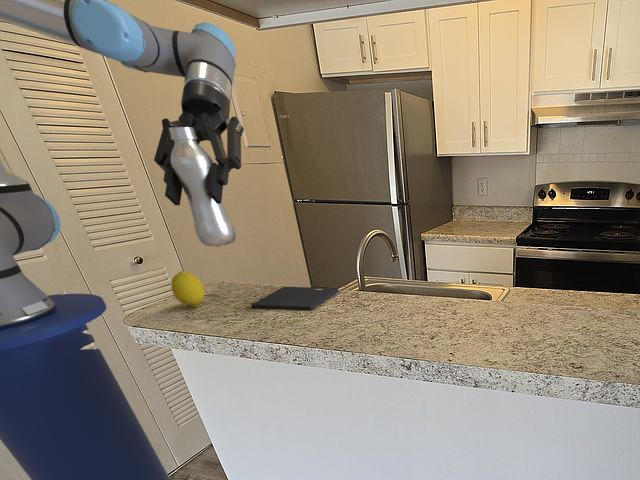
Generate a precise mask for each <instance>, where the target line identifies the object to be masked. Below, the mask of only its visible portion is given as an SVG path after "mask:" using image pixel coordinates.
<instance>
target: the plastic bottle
mask: <svg viewBox="0 0 640 480" xmlns="http://www.w3.org/2000/svg"><path fill="white" fill-rule="evenodd" d="M169 131H170V134H171V139H172V140H174V142H175V145H174V148H173V150H172V153H171V157H170V159H171V165H172V167H173V168H174V171H175V173H176V175H177V177H178V179H179V181H180V183H181V185H182V190H183V192H184V194H185V195H186V199H187V201H188V204H189V207H190V212H191V215H192V219H193V221H194V222H193V226H194V227H193V228H194V231H195V235H196V237H197V239H198V240H199V242H200V243H201V244H202V245H203V246H207V247H216V248H217V247H218V248H219V247H220V248H221V247H225V246H227V245H230V244H234V243H235V241H236V239H237V235H236V229H235V227H234V224H233V222H232V221H231V219H230V218H229V215H228V213H227V212H228V211H227V210H226V208H225V207H226V206H225V205H224V202H223V200H222V201H221V204H217V203H216V202H215V201H214V200H213V199H212V198H211V197H210V196H209V194H208V188H209V180H210V172H211V164H212V163H214V160H213V159H212V157H211V156H210V154H209V153H208V152H207V151H206V150H205V149H204V148H203V147H202V146H201V145H200V144H199V145H198V144H197V141H196V139H198V138H197V136H196V134H195V131H194V129H193V127H171V128H169Z"/></svg>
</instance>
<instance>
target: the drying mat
mask: <svg viewBox="0 0 640 480" xmlns="http://www.w3.org/2000/svg"><path fill="white" fill-rule="evenodd" d="M315 289H323V290H315ZM337 293H339V288H338V287H311V286H310V287H309V286H282V287H281V288H278V289H277V290H275V291H273V292H271V293H270V294H267V295H266V296H264V297H262V298H260V299H259V300H257V301H255V302H252V303H251V304H250V306H251V308H252V309H270V310H297V311H299V310H300V311H314V309H316V308H317V307H318V306H320V305H321V304H323V303H325V302H326V301H327V300H329V299H330V298H331V297H333V296H334V295H336V294H337Z"/></svg>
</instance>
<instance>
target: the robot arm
mask: <svg viewBox="0 0 640 480" xmlns="http://www.w3.org/2000/svg"><path fill="white" fill-rule="evenodd" d="M0 21H1V22H4V23H6V24H10V25H13V26H16V27H19V28H20V29H21V28H22V29H25V30H27V31H30V32H34V33H36V34H38V35H39V34H40V35H43V36H46V37H48V38H52V39H55V40H58V41H61V42H63V43H66V44H69V45H72V46H76V47H78V48H81V49H84V50H86V51H89V52H92V53H95V54H98V55H101V56H103V57H106V58H107V59H110V60H114V61H117V62H119V63H120V64H121V65H123V66H124V67H126V68H128V69H132V70H136V71H140V72H143V73H146V74H147V73H153V74H159V75H166V76H172V77H173V76H174V77H179V78H184V81H183V89H182V95H181V100H180V105H181V114H180V115H179V116H178V119H176V120H173V121H170V119H169V118H165V117H164V118H163V119H162V120H161V125H162V130H161V133H160V138H159V140H158V144H157V148H156V152H155V155H154V158H153V161H154V162H155V163H156V165H157V166H159V167H160V169H161V170H162V171H163V172H164V173H163V174H164V176H163V179H162V180H163V182H164V183H165V184H166V186H165V192H164V196H165V197H166V198H167V199H168V200H169V201H170V202H171V203H172V204H173V205H174V206H180V205H181V200H182V193H183V187H182V185H181V183H180V181H179V179H178V177H177V175H176V173H175V171H174V168H173V167H172V165H171V159H170V157H171V153H172V150H173V148H174V145H175V142H174V140H172V139H171V134H170V131H169V128H171V127H193V129H194V131H195V134H196V136H197V138H198V139H196V141H197V144H198V145H200V144H201V143H202V142H205V141H208V142H210V145H211V147H212V151H213V154H214V158H213V159H214V160H215V161H216V162H213V163H212V164H211V172H210V180H209V188H208V194H209V196H210V197H211V198H212V199H213V200H214V201H215V202H216V203H217V204H221V201H222V202H223V191H224V186H227V185H228V183H229V177H230V176H229V175H230V172H231V171H232V170H233V169H235V170H240V169H241V168H242V135H243V133H244V130H245V128H244V126H243V125H242V123H241V122H240V120H239V118H238V117H237V116H232V117H230V112H231V102H232V92H233V83H234V77H235V70H236V66H237V65H236V46H235V44H234V42H233V40H232V39H231V37H230V36H229V35H228V34H227V33H226V31H225V30H223V29H222V28H221V27H219V26H217V25H215V24H213V23H210V22H200V23H197V24H195V25H194V26H193V28H192V29H191V32H187V31H182V30H174V29H170V28H164V27H159V26H156V25H151V24H150V23H148V22H146V21H144V20H142V19H140V18H139V17H137V16H135V15H133V14H131V13H129V12H127V10H125V9H123V7H121V6H120V5H117V4H115V3H113V2H110V1H109V0H0ZM225 131H226V150H225V146H224V140H223V138H222V134H223V133H224V132H225ZM60 231H61V219H60V216H59V214H58V212H57V210H56V208H55V207H54V206H53V205H52V203H50V202H49V201H48V200H47V199H44V198H42V196H41V195H39V194H37V193H35V192H34V191H33V189H32V187H31V184H30V183H29V181H28V180H26V179H24V178H22V177H21V176H19V175H17V174H15V172H13V170H12V168H11V166H10V164H9V162H8V160H7V158H6V156H5V155H4V153H3V150H2V149H1V148H0V330H4V329H9V328H13V327H17V326H20V325H24V324H27V323H30V322H34V321H36V320H39V319H42V318H44V317H46V316H48V315H50V314H52V313H54V312H55V311H56V309H57V308H56V306H55V304H54V303H53V301H52V300H51V299H50V298H49V297H48V294H46V293H45V292H44V291H43V290H42V289H41V288H39V287H38V286H37V285H36V284H35V283H34V282H32V280H30V279H29V278H28V276H26V275H25V274H24V273H23V271H22V269H21V268H20V265H19V264H18V262H17V260H16V258H15V257H14V256H17V255H19V254H23V253H27V252H29V251H37V250H39V249H41V248H43V247H45V246H47V245H48V244H50V243H52V242H53V241H54V240H55V239H56V238H57V237H58V236H59V234H60Z"/></svg>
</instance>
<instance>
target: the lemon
mask: <svg viewBox="0 0 640 480" xmlns="http://www.w3.org/2000/svg"><path fill="white" fill-rule="evenodd" d="M170 285H171V286H170V287H171V291H172V294H173V296H174V297H175V299H176V300H177V301H178V302H179V303H181V304H182V305H185V306H190V307H192V308H197V307H198V305H199V304H200V303H202V302H203V301H204V299H205V295H206V292H205V287H204V284H203V283H202V281H201V280H200V278H198V276H196V275H195V274H193V273H190V272H185V271H183V270H181V271H179V272H178V273H177V274H175V275H174V276H173V277H172V279H171V283H170Z"/></svg>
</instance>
